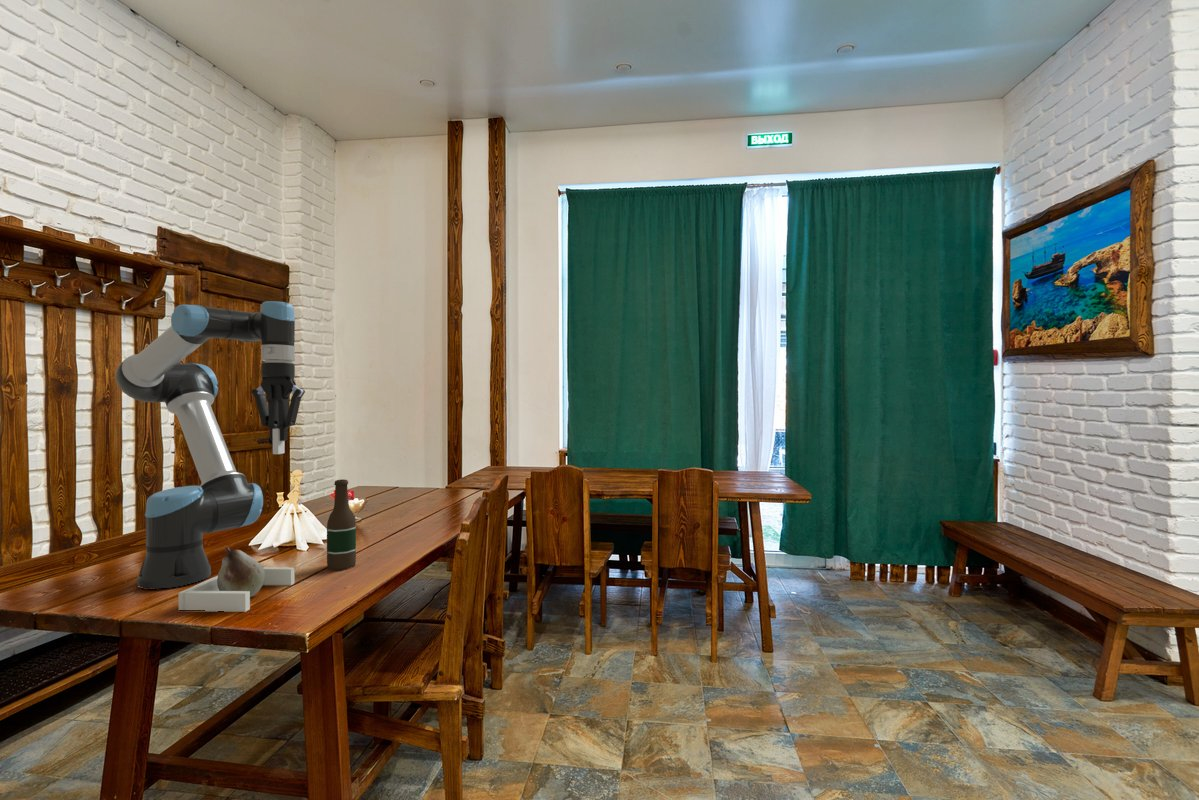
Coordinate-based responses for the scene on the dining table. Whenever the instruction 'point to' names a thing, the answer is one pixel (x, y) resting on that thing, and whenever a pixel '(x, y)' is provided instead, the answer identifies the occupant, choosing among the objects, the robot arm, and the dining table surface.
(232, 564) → the fruit
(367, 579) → the dining table surface
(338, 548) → the beer bottle
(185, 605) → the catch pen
